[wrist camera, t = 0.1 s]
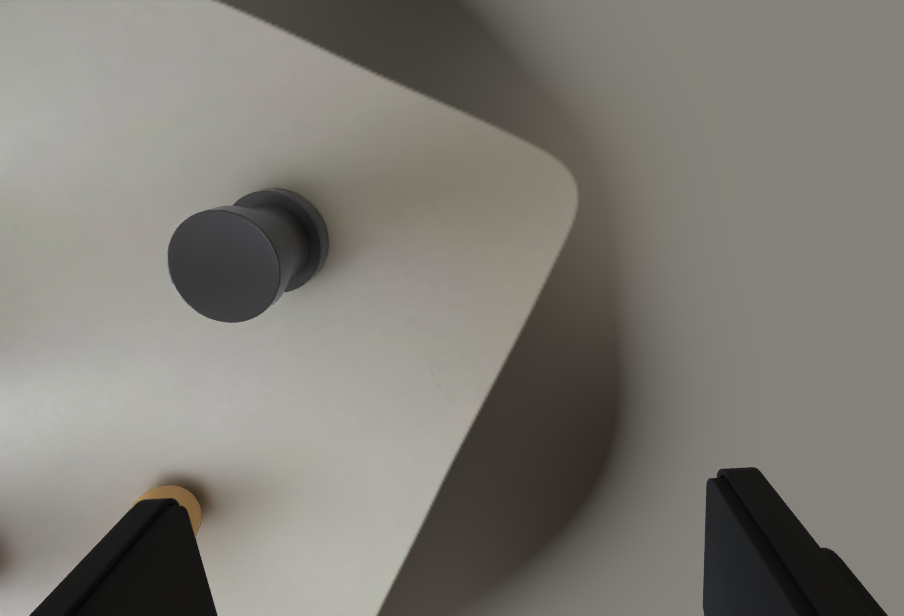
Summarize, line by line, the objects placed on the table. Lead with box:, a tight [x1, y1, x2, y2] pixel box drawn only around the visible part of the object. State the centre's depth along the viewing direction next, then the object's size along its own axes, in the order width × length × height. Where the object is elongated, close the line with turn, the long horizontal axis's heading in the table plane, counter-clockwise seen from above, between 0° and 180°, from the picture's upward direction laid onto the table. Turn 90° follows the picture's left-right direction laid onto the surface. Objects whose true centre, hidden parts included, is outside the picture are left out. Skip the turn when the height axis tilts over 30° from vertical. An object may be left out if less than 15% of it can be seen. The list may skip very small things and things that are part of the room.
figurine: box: [130, 485, 201, 536], centre depth 29 cm, size 8×6×12 cm
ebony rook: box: [167, 189, 328, 323], centre depth 27 cm, size 5×5×7 cm
